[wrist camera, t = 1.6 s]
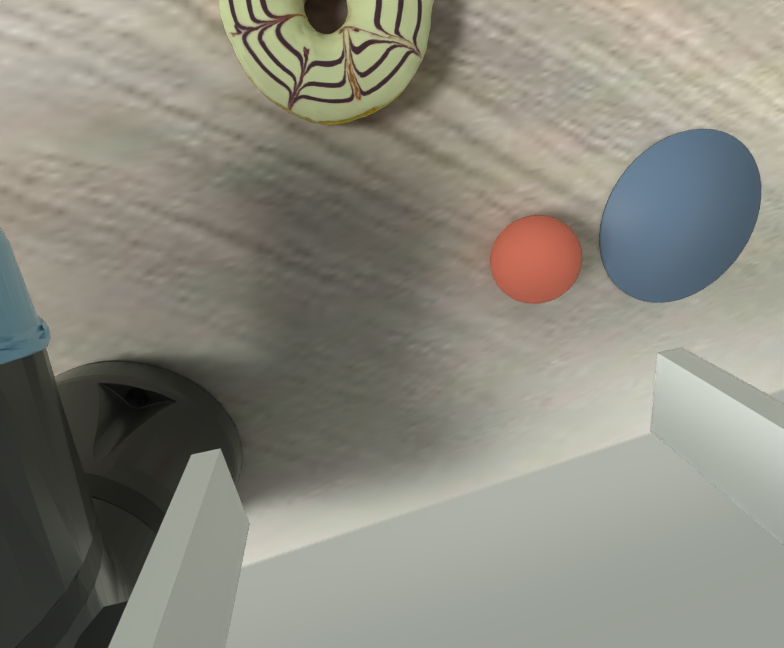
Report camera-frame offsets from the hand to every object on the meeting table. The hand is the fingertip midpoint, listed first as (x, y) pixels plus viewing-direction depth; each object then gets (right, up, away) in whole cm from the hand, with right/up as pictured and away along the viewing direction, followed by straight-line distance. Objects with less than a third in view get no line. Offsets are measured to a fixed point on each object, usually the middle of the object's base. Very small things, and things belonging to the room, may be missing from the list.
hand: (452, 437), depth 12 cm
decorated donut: (-5, +20, +12) cm, 24 cm away
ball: (+7, +7, +15) cm, 18 cm away
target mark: (+19, +10, +18) cm, 28 cm away
